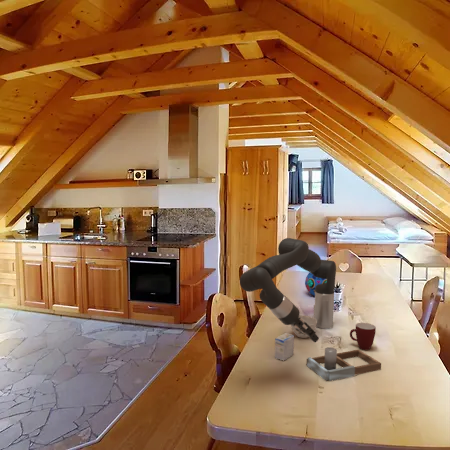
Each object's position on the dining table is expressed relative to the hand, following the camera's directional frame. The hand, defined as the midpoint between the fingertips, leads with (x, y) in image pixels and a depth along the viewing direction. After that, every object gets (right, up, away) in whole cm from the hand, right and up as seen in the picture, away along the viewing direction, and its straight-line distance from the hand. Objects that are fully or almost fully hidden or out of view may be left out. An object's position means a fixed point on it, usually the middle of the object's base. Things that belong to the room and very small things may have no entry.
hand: (310, 335), depth 142 cm
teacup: (+6, -11, +39) cm, 41 cm away
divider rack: (+14, -14, +7) cm, 22 cm away
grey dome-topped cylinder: (+9, -15, +5) cm, 18 cm away
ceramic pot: (+28, -4, +103) cm, 107 cm away
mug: (+28, -13, +25) cm, 40 cm away
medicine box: (-7, -14, +16) cm, 22 cm away
